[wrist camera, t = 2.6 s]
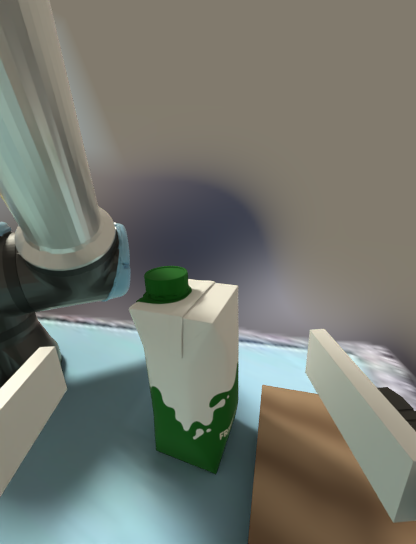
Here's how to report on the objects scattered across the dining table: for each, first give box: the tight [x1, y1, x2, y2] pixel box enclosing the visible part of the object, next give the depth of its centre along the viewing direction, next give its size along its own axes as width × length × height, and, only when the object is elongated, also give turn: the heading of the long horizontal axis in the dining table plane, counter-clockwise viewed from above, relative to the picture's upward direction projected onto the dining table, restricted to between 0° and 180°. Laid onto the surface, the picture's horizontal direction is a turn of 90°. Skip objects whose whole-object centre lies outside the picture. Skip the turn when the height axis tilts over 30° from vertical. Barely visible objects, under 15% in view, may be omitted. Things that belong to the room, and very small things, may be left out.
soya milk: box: [129, 266, 238, 474], centre depth 26 cm, size 9×9×20 cm
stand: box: [248, 385, 416, 544], centre depth 22 cm, size 20×14×3 cm
